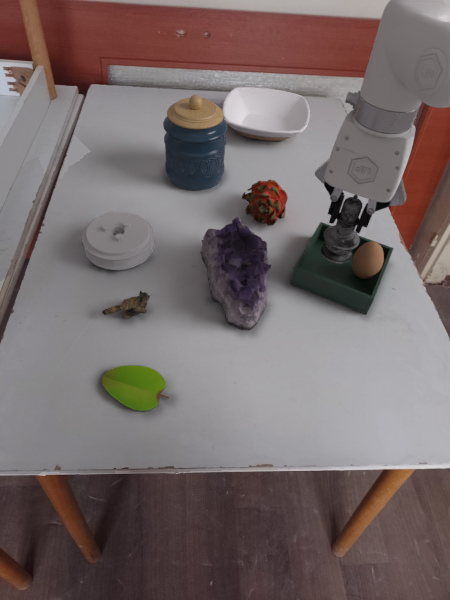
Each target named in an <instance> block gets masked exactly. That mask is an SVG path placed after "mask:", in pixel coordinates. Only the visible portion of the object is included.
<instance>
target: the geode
mask: <svg viewBox="0 0 450 600" xmlns="http://www.w3.org/2000/svg"><path fill="white" fill-rule="evenodd" d="M200 241H201V250H200V256H201V260H202V262H203V264H204V265H205V267H206V269H207V280H208V281H209V282H208V283H209V288H210V289H209V290H210V297H211V299H212V301H214V302H216V303H219V304H220V305H221V307H222V308H223V310H224V313H225V319H226V321H227V323H228V325H231V326H233V327H236V328H238V329H240V330H242V331H243V330H247V331H250V330H253V328H255V327H256V326H257V324H258V322H259V321H260V320H261V317H262V315H263V314H264V312H265V310H266V308H267V306H268V304H267V303H268V290H267V279H268V272H269V270H270V269H271V268H272V264H271V263H269V262H270V260H269V256H268V242H267V241H265V240H263V239H262V237H260V236H259V235H257V234H255V232H252V230H250V227H249V226H248V225H243V224H242V220H241V217H240V216H236V217H235V218H234V219H233V220H232V221H231V223H228V224H226V225H224V226H223V228H220V229H217V228H207V230H206V231H205V234H204V235H203V238H202V239H201V240H200Z"/></svg>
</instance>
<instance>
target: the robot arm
mask: <svg viewBox="0 0 450 600" xmlns="http://www.w3.org/2000/svg"><path fill="white" fill-rule="evenodd" d="M344 102H345V103H346V104H349V106H352V110H350V111H349V112H348V113H347V114H346V115H345V118H344V120H343V122H342V124H341V126H340V128H339V131H338V133H337V135H336V138H335V140H334V144H333V146H332V148H331V152H330V155H329V158H328V159H327V160H326V161H324V162H323V163H321V165H319V166H318V167H317V168H316V170H315V171H314V176H315V177H316V178H317V179H318V181H320V182H321V183H322V184H323V187H324V188H325V190H326V191H327V193H328V195H329V200H330V204H329V207H328V211H327V215H329V216H330V217H329V222H328V224H332V225H333V224H335V222H336V221H337V218H336V217H337V215H338V213H340V212H341V209H342V206H343V203H344V201H345V196H346V195H345V193H344V192H346V193H350V194H352V195H357V196H358V197H361V198H364V199H367V203H365V206H364V208H363V210H362V211H361V213H360V216H359V222H358V225H356V227H355V230H354V231H355V232H356V233H357V234H360V233H361V231H362V229H363V228H366V229H367V228H368V227H369V224H370V221H371V219H372V216H373V215H375V213H376V212H378V211H381V210H384V209H388V207H394V206H395V207H396V206H402V205H404V204H405V203H406V201H407V199H408V197H407V192H406V188H405V184H404V179H403V176H404V173H405V170H406V169H407V168H406V167H407V164H408V162H409V160H410V156H411V153H412V149H413V145H414V141H415V135H416V126H415V124H414V122H415V119H416V117H417V115H418V112H419V109H420V107H421V105H422V103H423V104H425V105H426V106H429V107H432V108H436V109H437V108H438V109H445V108H446V109H447V108H450V4H449V3H448V2H446V1H445V0H389V1H388V2H387V3H386V5H385V7H384V9H383V11H382V15H381V17H380V21H379V25H378V27H377V31H376V35H375V38H374V42H373V45H372V49H371V52H370V56H369V60H368V62H367V66H366V69H365V72H364V76H363V80H362V83H361V86H360V90H358V91H357V92H351V91H348V92H347V94H346V98H345V101H344Z"/></svg>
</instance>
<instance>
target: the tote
mask: <svg viewBox="0 0 450 600" xmlns="http://www.w3.org/2000/svg"><path fill="white" fill-rule="evenodd" d="M331 226H332V225H330V224H329V223H325V222H323V221H320V222H319V224H318V226H317V227H316V229H315V231H314V233H313V234H312V236H311V237H310V239H309V241H308V243H307V245H306V246H305V248H304V249H303V252H302V253H301V254H300V256H299V258H298V260H297V262H296V263H295V265H294V267H293V269H292V273H291V278H290V280H289V285H292V286H295V287H297V288H299V289H301V290H304V291H307V292H309V293H312V294H314V295H316V296H319V297H322V298H323V299H326V300H329V301H331V302H334V303H337V304H339V305H341V306H343V307H346V308H348V309H351V310H354V311H356V312H359V313H361V314H364V315H367V314H368V313H369V310H370V308H371V306H372V304H373V302H374V300H375V297H376V296H377V293H378V289H379V287H380V285H381V282H382V280H383V277H384V274H385V272H386V270H387V267H388V264H389V262H390V260H391V256H392V254H393V251H394V247H391V246H389V245H386V244H383V243H380V242H379V241H378V242H377V241H375V240H372V239H369V238H366V237H364V236H361V235H358V236H359V238H360V242H359V244H358V246H357V247H356V248H355V249H353V250H352V251H351V252H352V258H351V260H350V261H348V262H347V263H343V264H336V263H332V262H330V261H328V260H326V259H325V258H324V257H323V255H322V254H321V247H322V246H323V245H324V244H325V240H324V232H325V230H326V229H327V228H328V227H331ZM367 242H376V243H378V244H379V245H380V246H381V247H382V249H383V253H384V261H383V265H382V268H381V269H380V271H379V272H378V273H377V274H376V275H375V276H374V277H372V278H369V279H360V278H358V277H357V276H356V275H355V274H354V272H353V270H352V259H353V256H354V254H355V252H356V251H357V250H358V249H359V247H361V246H362V245H363V244H365V243H367Z"/></svg>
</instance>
